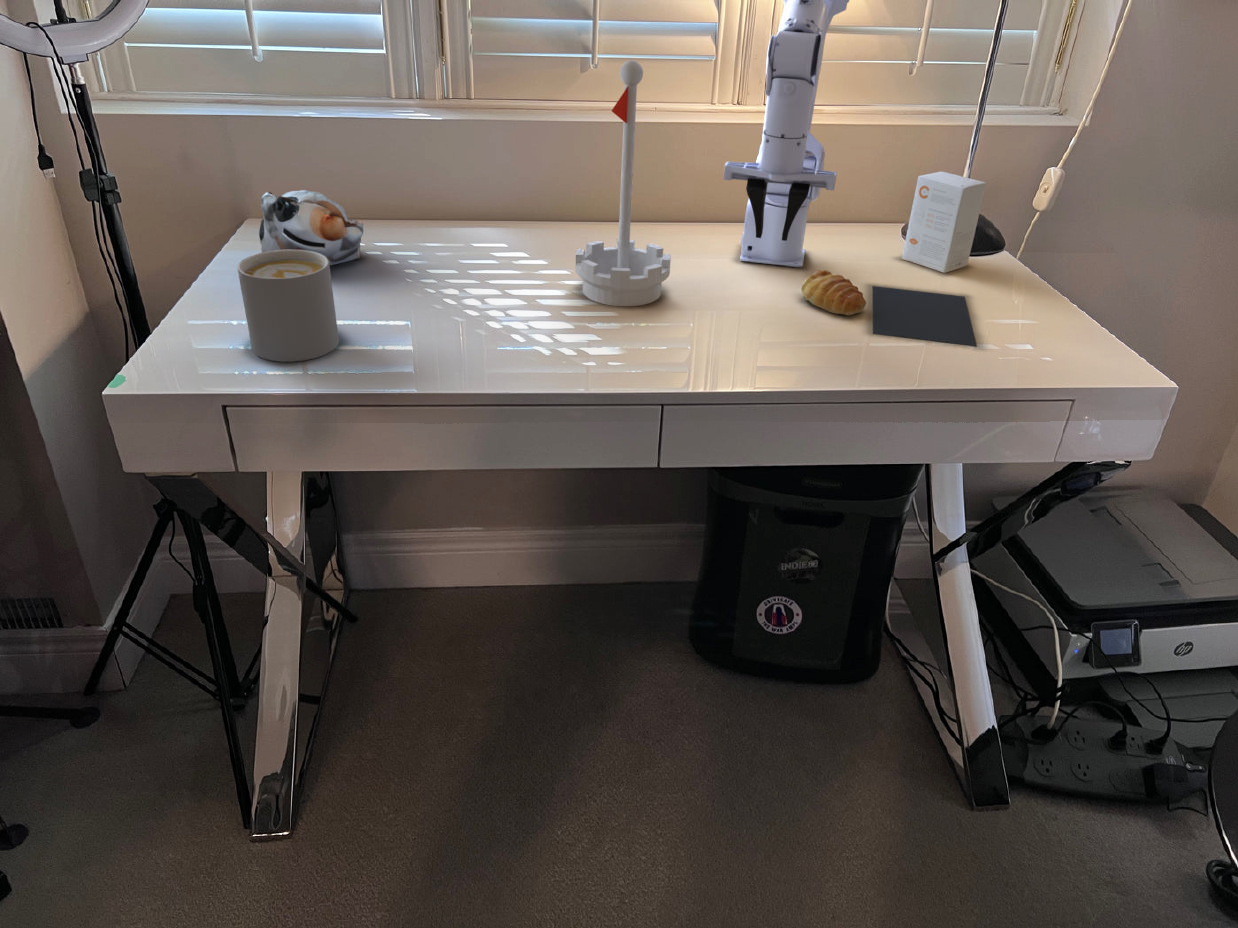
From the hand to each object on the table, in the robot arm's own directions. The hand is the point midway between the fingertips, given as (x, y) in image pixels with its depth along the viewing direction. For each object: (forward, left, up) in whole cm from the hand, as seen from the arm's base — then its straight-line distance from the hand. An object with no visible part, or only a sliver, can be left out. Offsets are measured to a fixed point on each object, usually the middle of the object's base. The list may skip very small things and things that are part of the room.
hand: (771, 237), depth 127 cm
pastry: (+10, 0, -9) cm, 13 cm away
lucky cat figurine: (-63, -9, -9) cm, 65 cm away
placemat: (+22, 0, -8) cm, 23 cm away
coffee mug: (-53, -33, -9) cm, 63 cm away
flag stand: (-19, -5, -9) cm, 22 cm away
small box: (+25, +23, -9) cm, 35 cm away
